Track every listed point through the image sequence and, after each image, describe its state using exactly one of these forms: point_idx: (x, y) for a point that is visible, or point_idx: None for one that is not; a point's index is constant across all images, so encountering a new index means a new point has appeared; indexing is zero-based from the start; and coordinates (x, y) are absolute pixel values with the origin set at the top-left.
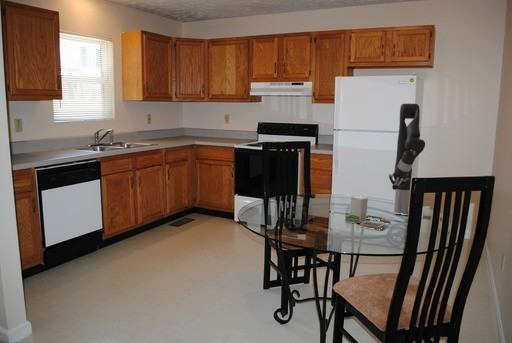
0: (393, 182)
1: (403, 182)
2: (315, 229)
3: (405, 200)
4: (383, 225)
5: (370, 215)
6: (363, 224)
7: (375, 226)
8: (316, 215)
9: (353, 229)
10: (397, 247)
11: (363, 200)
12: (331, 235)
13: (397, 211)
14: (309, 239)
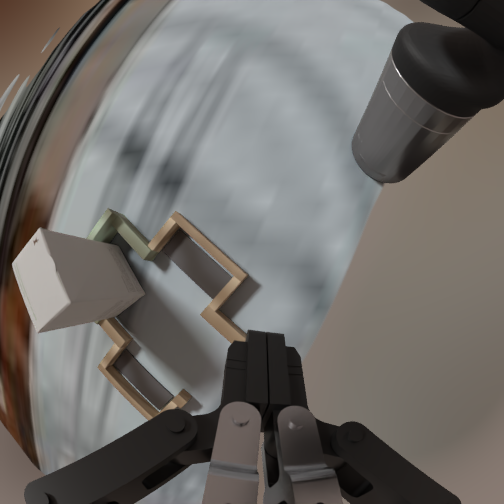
0: (183, 469)
1: (351, 499)
2: (10, 349)
3: (422, 150)
4: (181, 406)
5: (185, 222)
6: (107, 377)
7: (143, 415)
8: (36, 184)
9: (82, 383)
10: None
11: (52, 326)
12: (36, 411)
13: (363, 158)
14: (10, 415)
